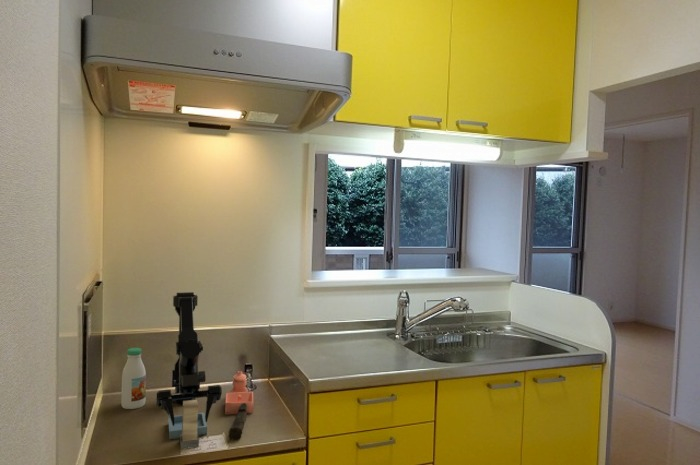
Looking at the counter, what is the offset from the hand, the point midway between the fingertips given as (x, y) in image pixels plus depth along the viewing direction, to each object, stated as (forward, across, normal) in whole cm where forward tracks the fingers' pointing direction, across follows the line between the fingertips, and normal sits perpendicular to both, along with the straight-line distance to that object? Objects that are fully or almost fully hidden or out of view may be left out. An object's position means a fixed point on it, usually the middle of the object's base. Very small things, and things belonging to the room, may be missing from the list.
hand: (190, 423), depth 142 cm
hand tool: (-1, +16, +12) cm, 19 cm away
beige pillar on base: (+4, 0, +6) cm, 7 cm away
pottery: (-14, +19, +24) cm, 34 cm away
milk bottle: (-20, -17, +30) cm, 40 cm away
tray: (-3, 0, +13) cm, 13 cm away
